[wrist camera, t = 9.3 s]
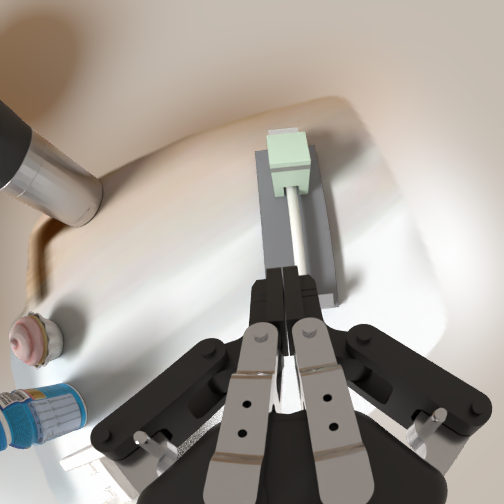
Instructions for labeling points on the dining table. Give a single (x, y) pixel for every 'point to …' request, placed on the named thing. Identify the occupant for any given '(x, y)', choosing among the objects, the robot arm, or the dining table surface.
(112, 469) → the white plastic stand
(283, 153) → the notched mint block
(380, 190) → the dining table surface
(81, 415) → the beverage bottle
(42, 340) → the cupcake
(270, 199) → the grey slide rail
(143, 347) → the dining table surface
